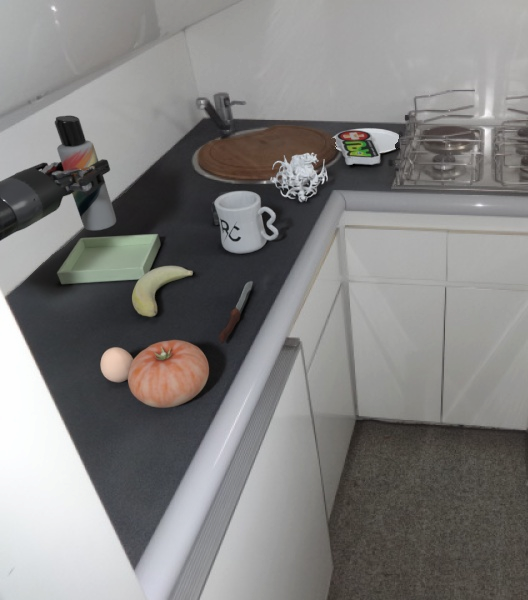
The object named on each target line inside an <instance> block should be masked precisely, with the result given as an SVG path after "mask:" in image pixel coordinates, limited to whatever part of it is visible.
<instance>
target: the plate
mask: <svg viewBox="0 0 528 600" xmlns="http://www.w3.org/2000/svg"><path fill="white" fill-rule="evenodd" d="M352 130H361V131H366V132H368V133H370V134H371V135H372V140H373V141H374V143H375V145H376V147H377V149H378V151H379V153H380V155H382V154H388V153H390V152H393V151H396V150H397V149H396V148H395V144H396V143H397V142H398V139H399V135H400V134H398V133H397V132H394V131H392V130H387V129H383V128H375V127H374V128H371V127H369V128H368V127H364V128H355V129H352ZM336 135H337V134H335V135H333V137H332V138H335V139H336ZM335 144H336V146H337V147H336V146H335V147H336V149H337V150H336V149H335V150H336V151H338V152H341V153H342V150H341V146H339V145H337V143H336V142H335Z"/></svg>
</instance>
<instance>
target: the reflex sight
mask: <svg viewBox="0 0 528 600" xmlns="http://www.w3.org/2000/svg"><path fill="white" fill-rule="evenodd" d="M229 192H230V191H223V192H219V193H218V195H217V196H216V199H217V198H218V197H219V196H221V195H223V194H226V193H229ZM214 203H215V200H213V201H212V202H211V205H210V208H211V209H210V210H211V213H212V218H213V220H214V221H213V222H214V225H216V226H217V225H220V222H219V217H218V213H217V210H216V207H215V206H214V208H213V205H214Z"/></svg>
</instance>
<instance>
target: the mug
mask: <svg viewBox="0 0 528 600" xmlns="http://www.w3.org/2000/svg"><path fill="white" fill-rule="evenodd" d="M228 192H229V193H226V194H223V195H221V196H219V197H218V198H217V197H216V199H215V200H214V201H215V203H213V205H214V208H215V207H216V210H217V213H218V217H219V222H220V223H219V228H220V241H221V246H222V247H223V249H224V250H226V251H228V252H230V253H233V254H240V255H241V254H249V253H254V252H257V251H259V250H260V249H262V248H263V247H264V246H266V243H267V241H274V240H276V239H277V238H278V236H279V230H278V229H277V228H276V227H275V226H274V225H273V223H274V222H275V220H276V217H277V215H276V212H274V210H273V209H272V208H270V207H268V206H262V201H261V199H262V198H261V196H260V195H259V194H258V193H256V192H253V191H248V190H234V191H228ZM264 212H266V213H267V214H268V215H270V218H269V219H268V220H267V221H266V227H267V228H268V229H269V230H270V231H271V232H272V233H273V234H272V235H268V234H267V232H266V229H265V225H264V221H263V217H262V216H263V213H264Z"/></svg>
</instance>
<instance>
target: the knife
mask: <svg viewBox="0 0 528 600" xmlns="http://www.w3.org/2000/svg"><path fill="white" fill-rule="evenodd" d="M253 283H254V281H252V280H249V281H247V282H246V283H245V285H244V287H243V290H242V292H241V295H240V296H239V298H238V301H237V304H236V306H235V308H233V309H232V310H231V311H230V313H229V314H230V315H229V316H230V318H229V320H228V322H227V324H226V326H225V327H224V328H223V330H221V331H220V333H219V335H218V340H219V343H220V344H224V343H225V342H226V340H227V339H228V337H229V336H230V335H231V333H232V332H233V330H234V328H235V326H236V325H237V323H238V322H240V319H241V315H242V312H243V310H244V308H245V305H246V303H247V301H248V298H249V295H250V293H251V290H252V287H253Z"/></svg>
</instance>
